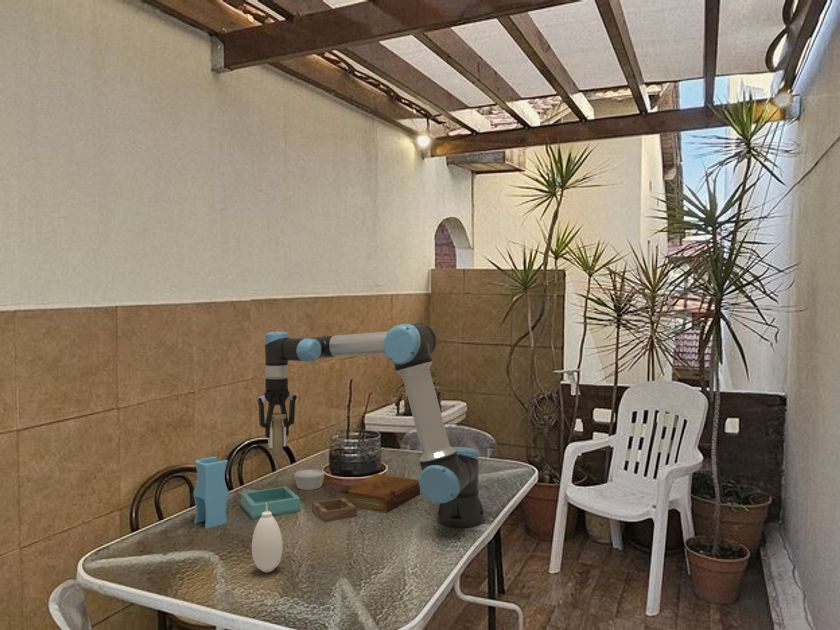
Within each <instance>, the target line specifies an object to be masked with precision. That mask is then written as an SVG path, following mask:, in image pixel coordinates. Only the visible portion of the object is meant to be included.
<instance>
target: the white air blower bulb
mask: <svg viewBox="0 0 840 630" xmlns="http://www.w3.org/2000/svg"><path fill="white" fill-rule="evenodd" d="M251 539H252V540H251V554H252V555H251V556H252V559H253V562H254V564H255V566H256V568H257V569H259V570H260V571H261V572H263V573H270V572H272V571H274V570H275V569H276V568H277V567H278V565H279V563H280V561H281V559H282V556H283V547H284V546H283V545H284V544H283V537H282V532H281V529H280V526H279V525H278V522H277V521H276V518H275V516H272V513H271V512H270V511H268V508H267V502H266V512H263V513H262V517H261V518H260V519H258V521H257V523H256V525H255V528H254V530H253V534H252V538H251Z"/></svg>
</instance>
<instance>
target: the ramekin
mask: <svg viewBox="0 0 840 630" xmlns="http://www.w3.org/2000/svg"><path fill="white" fill-rule="evenodd" d="M293 477H294V478H295V480H294V481H295V485H296V487H297V489H299V490H302V491H313V490H317V489H320V488H321V487H322V486H323V482H324V477H325V472H324V471H323V470H319V469H302V470H299V471H295V473H294V476H293Z"/></svg>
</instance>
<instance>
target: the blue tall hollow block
mask: <svg viewBox="0 0 840 630" xmlns="http://www.w3.org/2000/svg"><path fill="white" fill-rule="evenodd" d="M228 461H229V460H228V459H225V460H219V461H217V456H212V457H210V456H209V457H206V458H205V457H204V458H201V459H196V460H194V464H195V468H196V476H197V477H196V482H195V483H196V484H195V487H194V490H193V491H192V492H193V494H192V495H193V498H194V502H195V518H194V521H193V524H194V525H197V524H200V523H202V522H205V524H204V529H205V530H208V529H212V528H215V527H218V526H222V525H224V524H227V523H228V519H227V504H228V499H229V495H230V492H229V489H228V487H227V484H226V480H225V479H226V478H225V475H226V469H227V465H228Z"/></svg>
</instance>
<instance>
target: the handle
mask: <svg viewBox="0 0 840 630" xmlns="http://www.w3.org/2000/svg"><path fill="white" fill-rule="evenodd" d="M285 418H286V414H282V413H281V412H273V415H272V420H271V428H272V440H273V448H270V450H271V453H272V454H271V457H272V459H274V460H280V459H282V458H283V451H284V446H283V432H282V426H283V420H284V419H285Z"/></svg>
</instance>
